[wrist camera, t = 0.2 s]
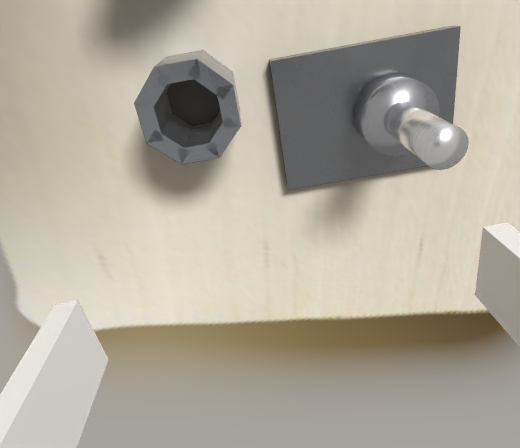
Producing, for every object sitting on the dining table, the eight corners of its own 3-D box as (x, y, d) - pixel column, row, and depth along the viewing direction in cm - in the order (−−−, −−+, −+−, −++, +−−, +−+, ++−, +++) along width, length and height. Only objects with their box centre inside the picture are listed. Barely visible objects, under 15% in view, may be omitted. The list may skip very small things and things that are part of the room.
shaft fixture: (269, 59, 34) (286, 82, 23) (453, 25, 34) (554, 33, 23) (287, 185, 40) (307, 248, 29) (444, 157, 39) (521, 211, 29)
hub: (142, 61, 33) (124, 72, 28) (227, 45, 33) (227, 53, 28) (166, 144, 37) (154, 169, 31) (243, 130, 37) (246, 152, 31)
